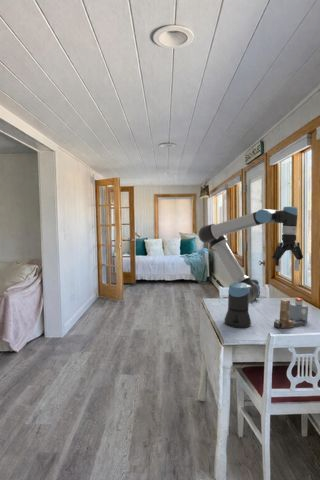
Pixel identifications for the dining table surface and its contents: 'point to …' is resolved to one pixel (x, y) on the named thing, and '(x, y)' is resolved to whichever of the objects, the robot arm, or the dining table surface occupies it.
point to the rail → (295, 323)
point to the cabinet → (298, 312)
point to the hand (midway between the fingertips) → (287, 271)
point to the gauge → (298, 301)
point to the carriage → (285, 314)
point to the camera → (257, 285)
